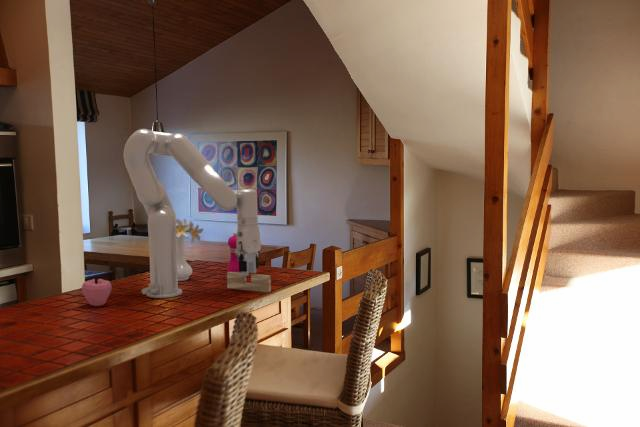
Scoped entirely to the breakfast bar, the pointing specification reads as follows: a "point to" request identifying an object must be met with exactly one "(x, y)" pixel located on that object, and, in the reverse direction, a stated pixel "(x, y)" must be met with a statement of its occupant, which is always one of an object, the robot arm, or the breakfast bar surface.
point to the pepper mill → (233, 254)
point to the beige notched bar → (257, 283)
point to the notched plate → (250, 264)
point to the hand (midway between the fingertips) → (248, 269)
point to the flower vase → (181, 231)
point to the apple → (96, 291)
